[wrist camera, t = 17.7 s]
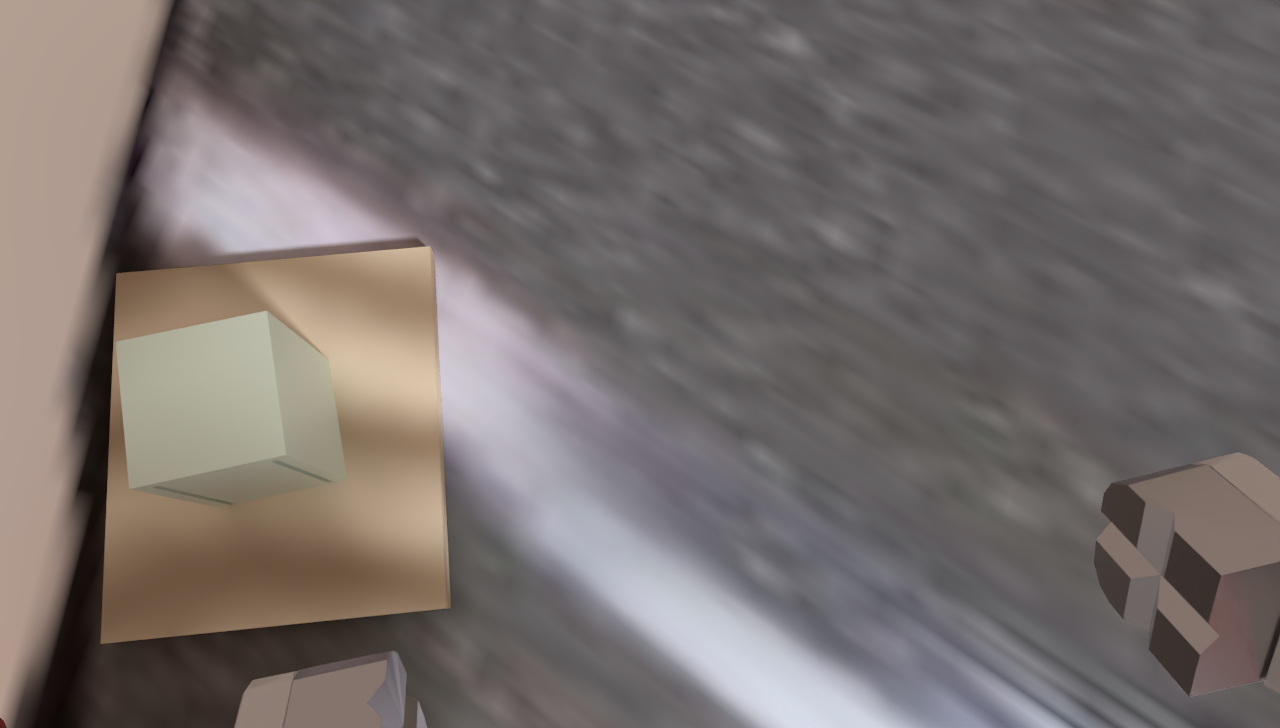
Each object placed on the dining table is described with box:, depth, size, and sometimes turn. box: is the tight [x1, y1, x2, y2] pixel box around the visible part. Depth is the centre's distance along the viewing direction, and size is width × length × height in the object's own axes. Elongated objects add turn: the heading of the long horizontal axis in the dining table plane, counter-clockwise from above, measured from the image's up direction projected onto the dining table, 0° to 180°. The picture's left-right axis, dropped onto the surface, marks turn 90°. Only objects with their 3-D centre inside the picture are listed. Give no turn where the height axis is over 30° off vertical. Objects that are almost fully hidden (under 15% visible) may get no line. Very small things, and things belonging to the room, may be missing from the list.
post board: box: [101, 246, 451, 644], centre depth 37 cm, size 16×14×6 cm
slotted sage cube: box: [116, 311, 347, 508], centre depth 36 cm, size 5×5×7 cm
